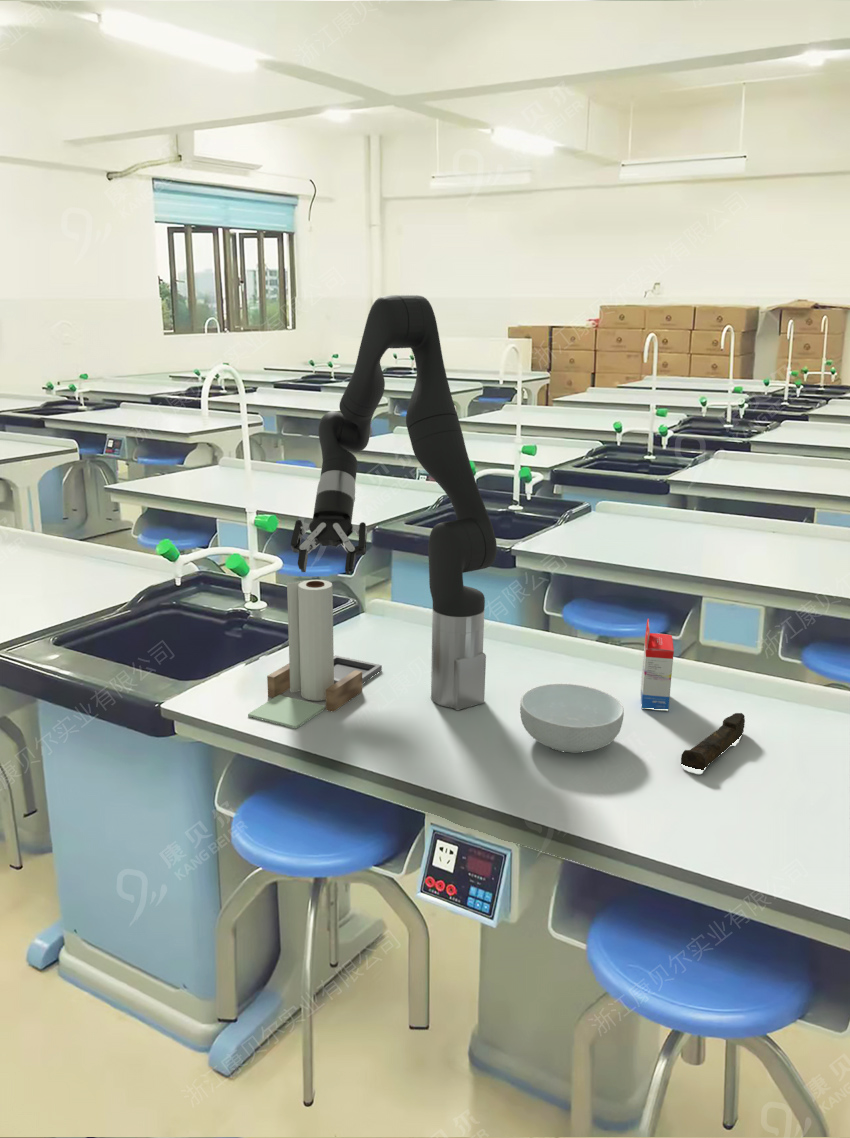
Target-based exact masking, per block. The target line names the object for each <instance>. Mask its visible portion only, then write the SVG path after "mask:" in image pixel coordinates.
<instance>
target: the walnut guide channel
mask: <svg viewBox="0 0 850 1138" xmlns="http://www.w3.org/2000/svg"><path fill="white" fill-rule="evenodd" d="M266 679H267V681H266V682H267V697H269V698H272V699H273V698H274V697H276V696H278V695H282V694H283V693H285V692H287V691H288V690H290V667H289V663H287V664H286V665H283V666H282V667H280V668H279V669H277V670H275V671H273V672H271V673H270V674H269V675H267V677H266ZM362 692H363V684H362V671H357V670H354V671H353V672H351V673H350V674H348V675H347V676H345V677H344V678H342V679H341V680H339V681H338V682H336V683H335V684H333V685H332V686H330V687H329V688H327V689H326V699H325V711H326V710H328V711H327V712H331V711H332V712H331V713H334V712H336V711H337V710H338V708H339V709H340V708H341V707H343V706H344V705H346V704H347V703H348V702H350V701H352V700H353V699H354V698H355V697H357V696H358V695H360V694H361V693H362ZM352 698H353V699H352ZM349 700H350V701H349Z"/></svg>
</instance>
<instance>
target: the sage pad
mask: <svg viewBox="0 0 850 1138" xmlns="http://www.w3.org/2000/svg"><path fill="white" fill-rule="evenodd" d="M322 710H323V711H324V710H326V705H322V704H317V703H313V702H309V701H307V700H305V701H304V700H301V699H297V698H294V697H288V696H284V695H282V694H280V695H278V696H276V697H274V698H273V697H272V698H271V699H270V700H267V702H265V703H263V704H261V705H260V706H258V707H257V708H255V709H253V710H252V711H250V712H248V713H247V716H249V718H252V717H254V718H253V719H256V718H258V719H257V720H260V719H263V720H262V721H264V720H266V721H265V722H268V721H270V722H269V723H271V722H273V723H272V724H275V723H277V724H276V725H279V724H282V725H281V726H283V725H285V726H284V727H287V726H288V727H287V728H291V727H293V728H292V729H295V728H297V727H298V728H300V727H301V726H302V724H303V723H304V724H306V723H307V722H308V721H310V720H311V719H312V717H313V716H314V717H315V715H316V714H317V715H318V714H320V713H321V712H323V711H322ZM317 715H316V716H317ZM314 717H313V718H314ZM309 719H310V720H309ZM306 721H307V722H306ZM304 724H303V725H304ZM300 725H301V726H300ZM299 726H300V727H299ZM298 728H297V729H298Z"/></svg>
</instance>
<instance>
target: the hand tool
mask: <svg viewBox="0 0 850 1138" xmlns="http://www.w3.org/2000/svg"><path fill="white" fill-rule="evenodd" d="M745 719H746V718H745V714H744V713H742V712H735V713H733V714H732V715H730V716H727V717H725V718H724V719H723V721H722V725H721V726H720V727H719V728H718V729H717V730H715V731H714V732H712V733H711V734H710V735H709V736H706V737H705V738H704V739H703V740H701V741H700V742H699V743H697V744H696V745H695V746H694V747H692V748H690V749H685V750H684V751H682V754H681V755H680V756H681V757H680V763H681V764H683V765H685V766H688V767H692V768H695V769H701V770H704V768H705V767H707V766H708V767H709V765H710V764H712V763H713V762H714V761H715V760H717V758H719V757H718V756H719V755H720V756H721V755H722V754H723V753H722V752H724V751H725V750H726V749H727V748H728V747H729V746H730V745H732V743H734V742H735V741H736V740H737V739H739V737H740V736H741V735H742V733H743V734H744V728H745V722H746V720H745ZM742 736H743V735H742ZM728 749H729V748H728ZM728 749H727V750H728ZM727 750H726V751H727ZM726 751H725V752H726ZM725 752H724V753H725ZM721 753H722V754H721ZM712 761H713V762H712ZM711 762H712V763H711ZM709 763H710V764H709ZM681 764H680V765H681ZM708 764H709V765H708ZM708 767H707V768H708Z"/></svg>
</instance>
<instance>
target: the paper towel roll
mask: <svg viewBox="0 0 850 1138" xmlns="http://www.w3.org/2000/svg"><path fill="white" fill-rule="evenodd" d="M333 588H334V585H333V583H332V582H331V581H329V580H324V579H308V580H300V581H296V582H287V583H286V589H287V591H286V592H287V593H286V594H287V599H286V600H287V621H288V622H287V623H288V625H287V627H288V628H287V629H288V658H289V659H288V661H289V663H288V664H289V667H290V689H289V691H290V692H289V693H296V692H300V695H301V697H302V698H304V699H305V700H309V701H313V702H314V701H317V702H318V701H326V689H327V688H329V687H330V686H332V685H333V684H334V656H335V655H334V653H335V652H334V603H333V602H334V599H333V598H334V597H333V595H334V594H333V592H334V590H333Z"/></svg>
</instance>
